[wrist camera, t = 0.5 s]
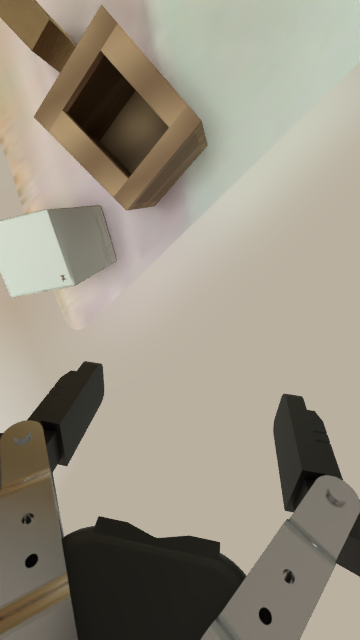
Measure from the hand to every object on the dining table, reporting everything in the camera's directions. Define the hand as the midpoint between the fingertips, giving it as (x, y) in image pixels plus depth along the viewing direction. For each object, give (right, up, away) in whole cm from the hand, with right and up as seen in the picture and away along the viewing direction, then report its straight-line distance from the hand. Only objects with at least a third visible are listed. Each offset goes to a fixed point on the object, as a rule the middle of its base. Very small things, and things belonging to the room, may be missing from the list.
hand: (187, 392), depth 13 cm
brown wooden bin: (-4, +24, +21) cm, 32 cm away
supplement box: (-13, +14, +26) cm, 33 cm away
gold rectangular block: (-12, +31, +19) cm, 38 cm away
